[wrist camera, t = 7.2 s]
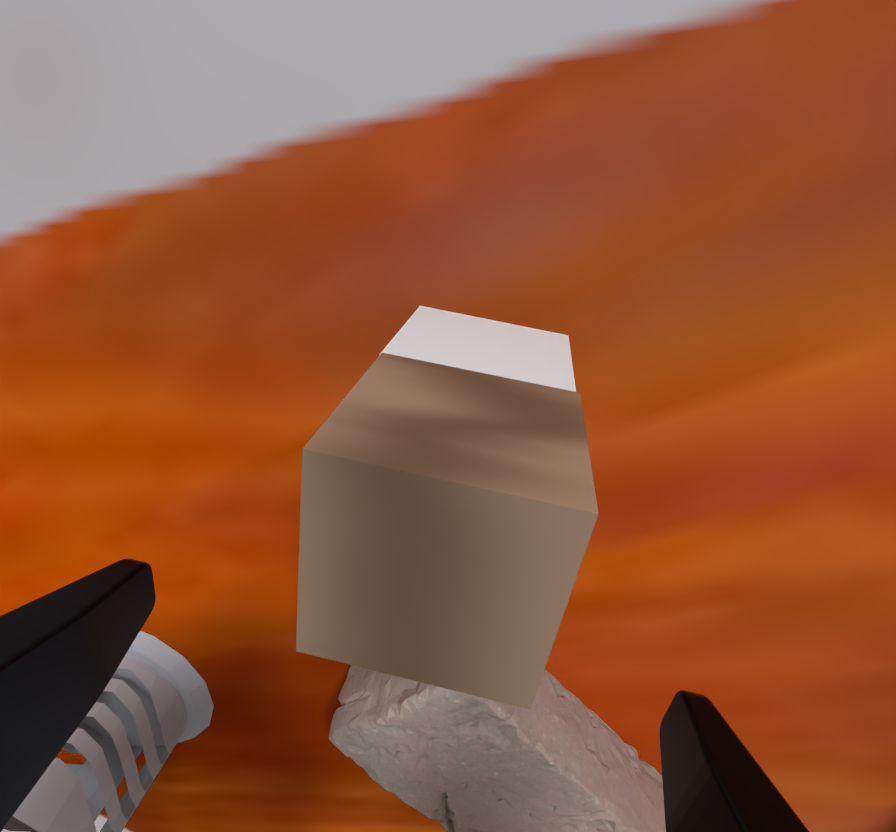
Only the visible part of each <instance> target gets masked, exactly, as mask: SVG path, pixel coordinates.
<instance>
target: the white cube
mask: <svg viewBox="0 0 896 832" xmlns="http://www.w3.org/2000/svg"><path fill="white" fill-rule="evenodd" d="M381 353H387V354H392V355H397V356H401V357H406V358H411V359H416V360H421V361H426V362H431V363H436V364H441V365H446V366H451V367H456V368H461V369H466V370H470V371H475V372H480V373H485V374H490V375H495V376H500V377H505V378H510V379H515V380H520V381H525V382H530V383H535V384H539V385H544V386H549V387H554V388H559V389H564V390H569V391H574V392H576V388H575V381H574V373H573V366H572V359H571V351H570V344H569V337H568V335H564V334H559V333H554V332H549V331H544V330H539V329H534V328H529V327H524V326H519V325H514V324H509V323H504V322H499V321H494V320H489V319H484V318H479V317H474V316H469V315H464V314H459V313H454V312H449V311H444V310H439V309H434V308H429V307H424V306H419V308H418V309H417V310H416V311H415V312H414V314H413V315H412V316H411V317H410V318H409V320H408V321H407V322H406V323H405V324H404V326H403V327H402V328H401V329H400V330H399V332H398V333H397V334H396V335H395V336H394V338H393V339H392V340H391V341H390V342H389V344H388V345H387V346H386V347H385V348H384V350H383V351H382V352H381ZM381 353H380V354H381ZM380 354H379V356H380Z"/></svg>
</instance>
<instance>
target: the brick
mask: <svg viewBox="0 0 896 832" xmlns="http://www.w3.org/2000/svg"><path fill="white" fill-rule="evenodd" d="M338 699H339V701H340V703H341V705H342V706H341V707H339V708H337V710H336V711H335V713H334V715H333V718H332V721H331V727H330V732H329V738H328V739H329V740H330V741H331V742H332V744H333V745H334V746H335V747H337V748H338V749H339V750H340V751H341V752H342V753H343V754H344V755H345V756H346V757H351V759H352V760H353V761H354V762H355V763H356V764H357V765H358V766H360V767H362V768H363V769H364V770H365V771H366V772H367V774H368V775H369V776H370V777H371V778H372V780H374V781H375V782H377V783H379V784H380V785H381V786H382V787H383V788H384V789H385V790H386V791H389V792H393V793H394V794H395V795H396V796H398V797H399V798H400V799H401V800H402V801H403V802H405V803H406V804H408V805H409V806H411V807H413V808H415V809H416V810H418V811H419V812H421V813H422V814H423V815H425V816H426V817H428V818H429V819H436V820H438V822H439V823H440V824H441V825H442V826H443V827H444V828H445V829H446V830H447V831H448V832H666V827H665V812H664V797H663V781H662V776H661V775H660V774H659V773H658V772H657V770H656V769H655V768H654V767H652V766H651V765H649V764H648V763H646V762H644V761H642V760H639V758H638V753H637V751H636V750H635V748H634V747H632V746H630V745H628V744H626V743H624V742H623V740H622V739H621V738H620V737H619V735H618V734H617V733H615V732H614V731H613V730H612V729H611V728H610V727H609V726H608V725H607V724H605V723H604V722H603V721H602V720H601V719H600V718H599V716H598V715H597V714H596V713H594V712H593V711H591V710H590V709H588V708H587V707H585V705H584V704H583V703H582V701H580V700H579V699H578V698H577V697H575V696H574V695H573V694H572V693H571V692H570V691H568V690H567V689H565V688H564V687H563V686H562V685H561V684H560V682H558V681H557V680H556V679H555V678H554V677H553V676H552V675H551V674H550V673H549V672H548V671H547V670H545V669H544V672H543V675H542V678H541V681H540V684H539V686H538V689H537V692H536V695H535V698H534V701H533V704H532V707H531V709H526V708H522V707H518V706H514V705H510V704H506V703H502V702H498V701H494V700H490V699H486V698H482V697H478V696H474V695H470V694H466V693H462V692H458V691H454V690H450V689H446V688H442V687H438V686H434V685H430V684H426V683H422V682H418V681H414V680H410V679H406V678H402V677H398V676H394V675H390V674H386V673H382V672H378V671H374V670H370V669H366V668H362V667H358V666H354V665H350V668H349V671H348V676H347V680H346V681H345V683H344V684H343V687H342V689H341V692H340V694H339V697H338Z"/></svg>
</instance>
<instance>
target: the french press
mask: <svg viewBox="0 0 896 832" xmlns="http://www.w3.org/2000/svg"><path fill="white" fill-rule="evenodd" d="M213 708H214V705H213V702H212V699H211V696H210V693H209V691H208V688H207V685H206V682H205V681H204V680H203V678H202V677H201V676H200V675H199V674H198V673H197V671H196V670H195V669H194V668H193V667H192V666H191V664H190V663H189V662H188V661H187V660H186V658H185V657H184V656H182V655H181V654H179V653H178V652H176V651H175V650H173V649H172V648H170V647H169V646H168V645H166V644H165V643H163V642H162V641H160V640H159V639H157V638H156V637H155V636H153V635H150V634H147V633H145V632H142V631H140V632H139V633H138V635H137V637H136V638H135V640H134V642H133V643H132V645H131V647H130V648H129V650H128V652H127V653H126V655H125V657H124V658H123V660H122V662H121V663H120V665H119V667H118V668H117V670H116V672H115V673H114V675H113V677H112V678H111V680H110V681H109V683H108V685H107V686H106V688H105V689H104V691H103V692H102V694H101V696H100V697H99V698H98V700H97V701H96V703H95V704H94V706H93V707H92V708H91V710H90V711H89V713H88V714H87V715H86V717H85V718H84V719H83V721H82V722H81V723H80V725H79V726H78V728H77V729H76V730H75V732H74V733H73V734H72V736H71V737H70V738H69V740H68V741H67V742H66V744H65V745H64V747H63V748H62V749H63V750H65V751H68V752H70V753H75V754H82V755H83V756H84V757H85V758H86V759H87V760H86V761H85V763H84V764H65V763H64V762H63V761H62V760H61V759H60V758H55V759H54V760H53V762H52V763H51V764H50V766H49V767H48V768H47V770H46V771H45V772H44V774H43V775H42V776H41V778H40V779H39V781H38V782H37V783H36V785H35V786H34V787H33V789H32V790H31V791H30V793H29V794H28V796H27V797H26V798H25V800H24V801H23V802H22V804H21V805H20V806H19V808H18V809H17V810H16V812H15V813H14V815H13V816H12V817H11V819H10V820H9V821H8V823H7V824H6V825H5V827H4V828H3V829H6V830H9V831H30V832H96V829H95V825H94V821H95V820H96V818H97V817H98V815H99V814H100V812H101V811H102V809H103V808H104V806H105V810H106V814H107V818H108V820H107V822H106V823H105V825H104V826H103V828H102V829H101V831H100V832H121V831H122V830H123V828H124V827H125V825H126V824H127V822H128V820H129V819H130V817H131V816H132V814H133V812H134V811H135V809H136V808H137V806H138V804H139V803H140V801H141V800H142V798H143V797H144V795H145V793H146V792H147V790H148V789H149V787H150V785H151V784H152V782H153V781H154V779H155V777H156V776H157V774H158V773H159V771H160V769H161V768H162V766H163V765H164V763H165V761H166V760H167V758H168V757H169V755H170V753H171V752H172V750H173V749H174V747H175V745H176V744H177V743H180V742H183V741H186V740H189V739H192V738H195V737H196V736H197V735H198V734H199V733H201V732H202V731H203V730H204V729H206V728H207V727H208V726H209V725H210V721H211V717H212V712H213ZM142 750H143V751H144V755H145V759H146V762H145V764H144V765H143V767H142V768H141V770H140V771H139V773H138V771H137V766H136V762H135V761H136V759H137V758H138V756H139V755H140V753H141V752H142ZM124 777H125V779H126V783H127V787H128V790H127V791H126V793H125V794H124V796H123V797H122V799H121V800H120V802H119V800H118V795H117V791H116V789H117V787H118V786H119V784H120V783H121V781H122V780H123V778H124Z"/></svg>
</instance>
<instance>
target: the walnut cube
mask: <svg viewBox="0 0 896 832" xmlns="http://www.w3.org/2000/svg"><path fill="white" fill-rule="evenodd" d="M597 516H598V508H597V502H596V495H595V488H594V482H593V475H592V469H591V462H590V456H589V449H588V442H587V436H586V429H585V423H584V416H583V410H582V403H581V396H580V393H579V392H574V391H569V390H564V389H559V388H554V387H549V386H544V385H539V384H535V383H530V382H525V381H520V380H515V379H510V378H505V377H500V376H495V375H490V374H485V373H480V372H475V371H470V370H466V369H461V368H456V367H451V366H446V365H441V364H436V363H431V362H426V361H421V360H416V359H411V358H406V357H401V356H397V355H392V354H387V353H381V354H380V356H379V357H378V358H377V359H376V361H375V362H374V363H373V364H372V365H371V367H370V368H369V369H368V370H367V371H366V373H365V374H364V375H363V376H362V377H361V379H360V380H359V381H358V382H357V383H356V385H355V386H354V387H353V388H352V390H351V391H350V392H349V393H348V394H347V396H346V397H345V398H344V399H343V400H342V402H341V403H340V404H339V405H338V406H337V408H336V409H335V410H334V411H333V413H332V414H331V415H330V416H329V417H328V419H327V420H326V421H325V422H324V423H323V425H322V426H321V427H320V428H319V429H318V431H317V432H316V433H315V434H314V436H313V437H312V438H311V439H310V440H309V442H308V443H307V444H306V445H305V446H304V448H303V449H302V477H301V508H300V540H299V571H298V603H297V635H296V651H297V652H301V653H305V654H309V655H313V656H317V657H321V658H325V659H329V660H333V661H337V662H341V663H346V664H350V665H354V666H358V667H362V668H366V669H370V670H374V671H378V672H382V673H386V674H390V675H394V676H398V677H402V678H406V679H410V680H414V681H418V682H422V683H426V684H430V685H434V686H438V687H442V688H446V689H450V690H454V691H458V692H462V693H466V694H470V695H474V696H478V697H482V698H486V699H490V700H494V701H498V702H502V703H506V704H510V705H514V706H518V707H522V708H526V709H531V707H532V704H533V701H534V698H535V695H536V692H537V689H538V686H539V684H540V681H541V678H542V675H543V672H544V669H545V666H546V663H547V661H548V658H549V655H550V652H551V649H552V646H553V643H554V640H555V637H556V635H557V632H558V629H559V626H560V623H561V620H562V617H563V614H564V612H565V609H566V606H567V603H568V600H569V597H570V594H571V591H572V588H573V586H574V583H575V580H576V577H577V574H578V571H579V568H580V565H581V563H582V560H583V557H584V554H585V551H586V548H587V545H588V542H589V540H590V537H591V534H592V531H593V528H594V525H595V522H596V519H597Z"/></svg>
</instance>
